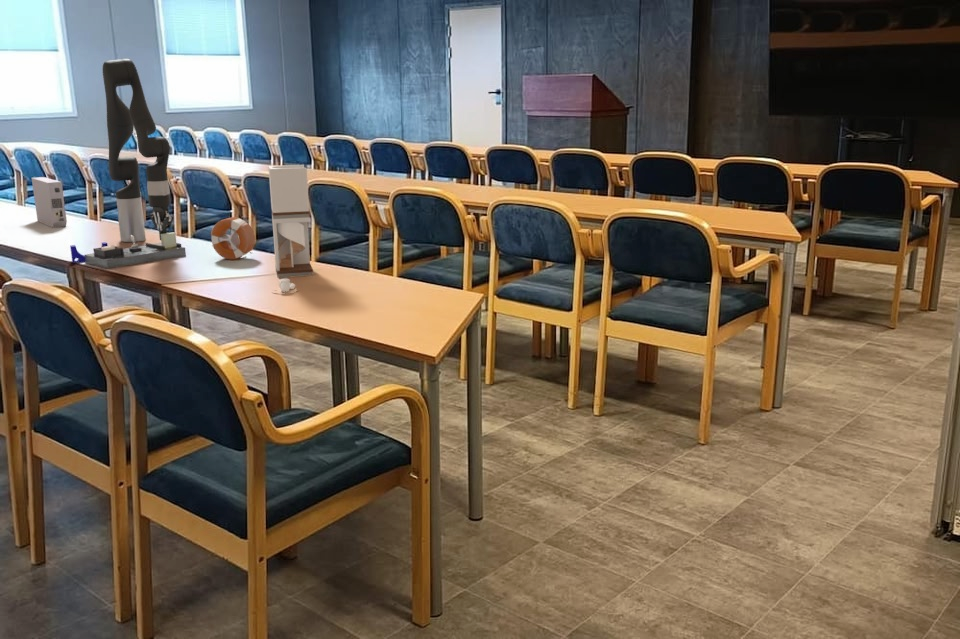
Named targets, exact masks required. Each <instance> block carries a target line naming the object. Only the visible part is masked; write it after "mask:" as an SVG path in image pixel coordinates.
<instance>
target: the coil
mask: <svg viewBox="0 0 960 639" xmlns="http://www.w3.org/2000/svg"><path fill="white" fill-rule="evenodd" d="M242 218H244V215H243V216H241V218H240V217H237V216H234V217H233V216H232V217H228V218H224V219H221V220H219V221H218V222H216V223H215V225H214V226H213V227H212V229H211V233H210V235H211V242H212V245H211V246H212V247H213V249H214V251H215V253H216V254H218V255H219V256H220V257H222V258H223V259H227V260H231V261H232V260H241V259H245V258H247V254H248V253H249V254H253V252H252V250H253V249H254V247H255V244H256V242H255V241H256V236H255V232H254V230H253V228H252V226H251V224H250V223H248V222H250V220H246V221H245V220H244V219H242ZM229 229H230V234H227V233H228V230H229ZM244 255H245V256H244ZM243 256H244V257H243Z"/></svg>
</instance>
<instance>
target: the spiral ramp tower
mask: <svg viewBox="0 0 960 639" xmlns="http://www.w3.org/2000/svg"><path fill="white" fill-rule="evenodd" d="M268 180H269V192H270V193H269V194H270V207H271V208H270V209H271V221H272V233H273V234H272V235H273V247H274V262H275V263H274V264H275V273H276V276H277V278H278V277H279V278H291V277H290V276H295V277H306V276H305V275H310V276H314V270H313V269H314V268H313V267H312V265H311V257H310V242H309V241H310V240H309V225H308V224H309V223H310V222H311V220H310V219H311V217H310V204H309V203H310V201H309V185H308V168H307V167H305V164H290V165H288V164H287V165H268ZM308 222H309V223H308Z"/></svg>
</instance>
